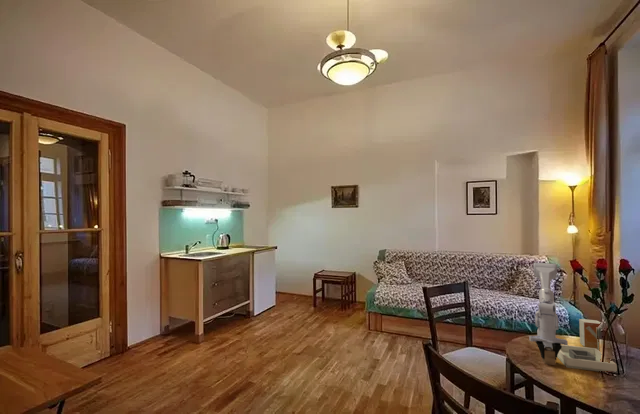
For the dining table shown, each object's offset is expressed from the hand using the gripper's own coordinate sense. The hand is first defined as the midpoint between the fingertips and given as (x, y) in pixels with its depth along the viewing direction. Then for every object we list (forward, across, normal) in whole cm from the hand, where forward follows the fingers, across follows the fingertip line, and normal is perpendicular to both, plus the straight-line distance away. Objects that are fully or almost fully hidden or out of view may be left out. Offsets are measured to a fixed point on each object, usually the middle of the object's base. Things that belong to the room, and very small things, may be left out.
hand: (548, 358), depth 147 cm
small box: (+2, +28, +30) cm, 41 cm away
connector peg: (+2, 0, 0) cm, 2 cm away
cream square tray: (+2, +15, +6) cm, 16 cm away
